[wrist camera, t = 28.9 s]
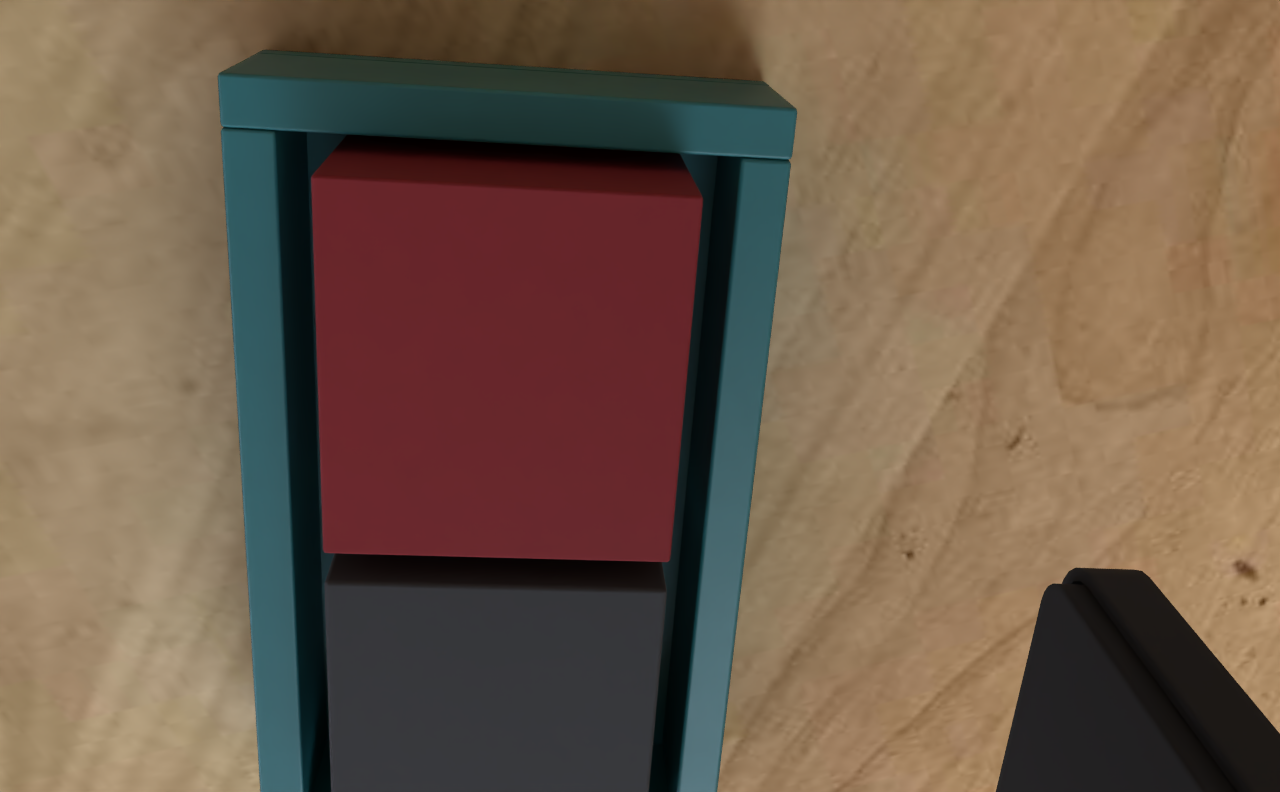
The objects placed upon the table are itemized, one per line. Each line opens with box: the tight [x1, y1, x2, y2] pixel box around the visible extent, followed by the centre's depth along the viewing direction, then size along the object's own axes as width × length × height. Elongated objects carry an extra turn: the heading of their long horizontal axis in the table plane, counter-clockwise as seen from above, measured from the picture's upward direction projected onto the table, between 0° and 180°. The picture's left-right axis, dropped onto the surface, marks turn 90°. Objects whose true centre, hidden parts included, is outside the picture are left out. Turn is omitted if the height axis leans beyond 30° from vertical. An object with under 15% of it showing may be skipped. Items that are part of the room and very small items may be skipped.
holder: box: [218, 50, 797, 792], centre depth 22 cm, size 15×9×3 cm, turn 176°
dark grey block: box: [324, 553, 667, 792], centre depth 22 cm, size 6×6×4 cm
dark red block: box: [311, 135, 703, 562], centre depth 20 cm, size 6×6×4 cm
